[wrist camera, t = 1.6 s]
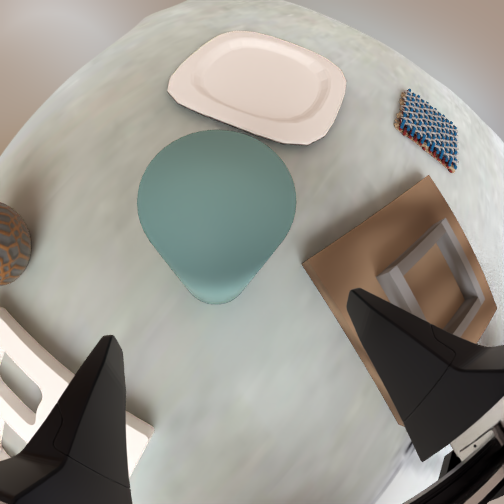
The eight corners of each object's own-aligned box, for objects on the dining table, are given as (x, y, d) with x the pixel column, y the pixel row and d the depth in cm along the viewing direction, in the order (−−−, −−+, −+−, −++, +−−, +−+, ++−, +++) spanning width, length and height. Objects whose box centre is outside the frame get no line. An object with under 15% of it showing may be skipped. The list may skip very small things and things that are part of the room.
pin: (261, 282, 21) (325, 220, 9) (204, 317, 20) (185, 306, 7) (226, 227, 22) (243, 112, 9) (170, 259, 21) (115, 171, 8)
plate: (349, 77, 30) (354, 69, 28) (313, 171, 25) (319, 161, 23) (228, 32, 30) (229, 23, 28) (149, 106, 25) (146, 95, 23)
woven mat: (452, 132, 31) (459, 125, 29) (451, 178, 28) (460, 172, 26) (399, 92, 31) (406, 83, 29) (390, 131, 28) (398, 121, 26)
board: (488, 309, 23) (509, 306, 20) (398, 424, 19) (420, 433, 16) (421, 180, 26) (439, 166, 23) (301, 264, 22) (316, 253, 18)
